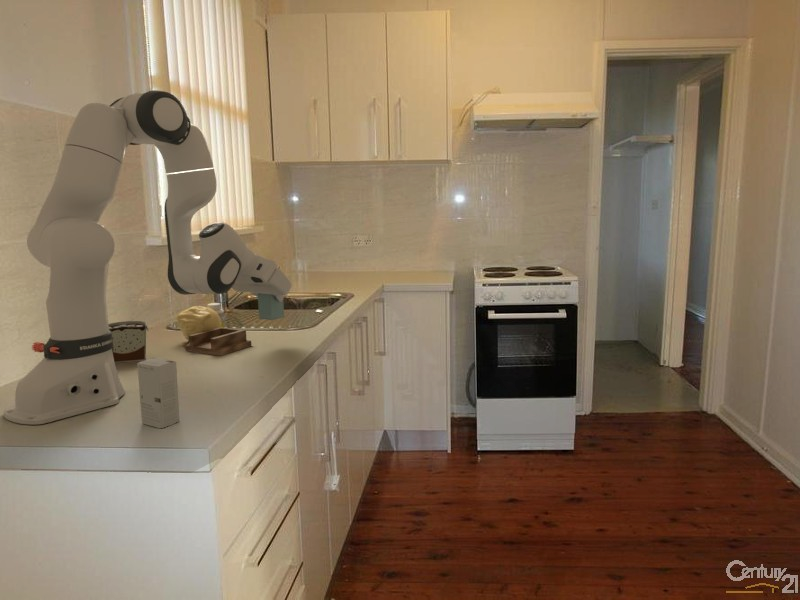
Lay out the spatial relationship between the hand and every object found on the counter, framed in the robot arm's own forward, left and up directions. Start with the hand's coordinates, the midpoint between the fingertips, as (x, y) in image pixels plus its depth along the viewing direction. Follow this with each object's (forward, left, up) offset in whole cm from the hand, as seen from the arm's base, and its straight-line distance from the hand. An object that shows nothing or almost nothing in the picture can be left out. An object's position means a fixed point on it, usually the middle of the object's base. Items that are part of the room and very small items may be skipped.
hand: (272, 299), depth 166 cm
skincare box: (-56, -22, -14) cm, 61 cm away
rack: (-10, +13, -14) cm, 21 cm away
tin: (-1, 0, -5) cm, 5 cm away
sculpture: (-5, +25, -14) cm, 29 cm away
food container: (-29, +27, -14) cm, 42 cm away
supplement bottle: (+1, +26, -14) cm, 29 cm away
